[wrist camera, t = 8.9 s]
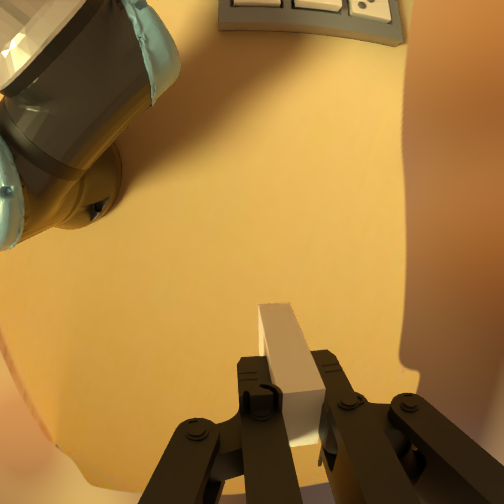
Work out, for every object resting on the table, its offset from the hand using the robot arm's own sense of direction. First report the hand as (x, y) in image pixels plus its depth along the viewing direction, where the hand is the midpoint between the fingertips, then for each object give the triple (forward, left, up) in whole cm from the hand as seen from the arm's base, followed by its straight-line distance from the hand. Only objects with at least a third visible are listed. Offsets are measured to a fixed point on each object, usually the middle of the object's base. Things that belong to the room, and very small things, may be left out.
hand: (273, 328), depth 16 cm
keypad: (+10, +33, -29) cm, 45 cm away
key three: (+18, +33, -28) cm, 47 cm away
